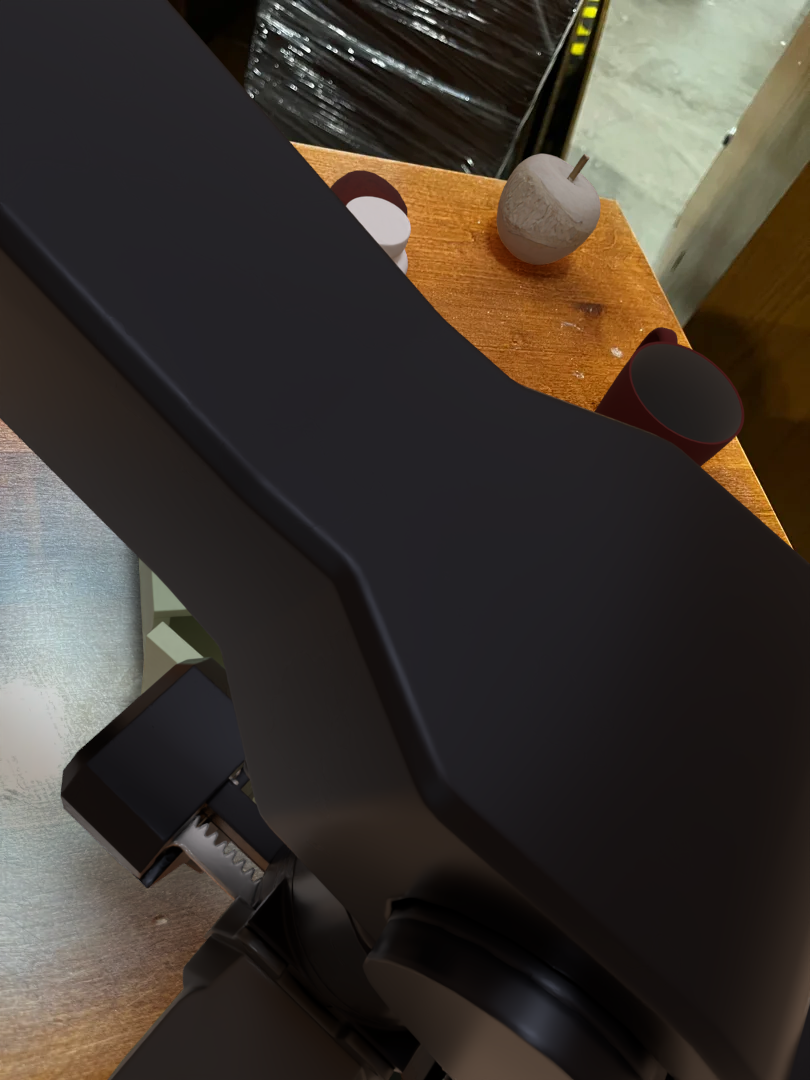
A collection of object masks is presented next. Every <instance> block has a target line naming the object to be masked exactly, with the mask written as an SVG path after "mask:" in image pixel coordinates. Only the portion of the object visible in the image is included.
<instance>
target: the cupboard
mask: <svg viewBox="0 0 810 1080" xmlns="http://www.w3.org/2000/svg"><path fill="white" fill-rule="evenodd" d="M138 572H139V573H138V575H139V591H140V592H139V593H140V594H139V595H140V611H141V612H140V614H141V631H142V652H143V657H144V656H145V645H146V636H147V634H149V633H150V632H151V631H152V630H153V629H154V628H155V627H156V626H158V625H159V624H160V623H161V622H164V623H165V624H166V625H167V626H169V627H170V628H171V629H172V630H173V631H174V632H175V633H176V634H178V635H179V636H180V637H181V638H182V639H183V640H184V641H185V642H187V643H188V644H189V645H190V646H191V647H192V648H193V649H194V650H196V651H197V652H198V653H199V654H200V655H201V656H202V657H203V658H206V657H212V658H213V659H214V660H216V661H217V662H218V663H219V664H220V665H221V666H222V667H223V668H224V669H225V667H224V662H223V658H222V653H221V651H220V649H219V646H218V645H217V643H216V642H215V641H214V640H213V639H212V638H211V637H210V635H209V634H208V633H207V632H206V631H205V630H204V629H203V627H202V626H201V625H200V624H199V623H198V622H197V621H196V619H195V618H194V617H193V616H192V615H191V614H190V613H189V611H188V610H187V609H186V608H185V607H184V606H183V605H182V603H181V602H180V601H179V600H178V599H177V598H176V597H175V595H174V594H173V593H172V592H171V591H170V590H169V589H168V587H167V586H166V585H165V584H164V583H163V582H162V581H161V580H160V579H159V578H158V577H157V576H156V575H155V574H154V573H153V572H152V571H151V570H150V569H149V568H148V567H147V566H146V565H145V564H144V563H143V562H142V561H141V560H140V559H139V558H138Z"/></svg>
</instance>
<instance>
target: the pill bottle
mask: <svg viewBox="0 0 810 1080" xmlns="http://www.w3.org/2000/svg"><path fill="white" fill-rule="evenodd" d="M346 207H347V208H348V209H349V210H350V211H351V213H352V214H353V215H354V216H355V217H356V218H357V220H358V221H359V222H360V223H361V224H362V225H363V226H364V228H365V229H366V230H367V231H368V232H369V233H370V235H371V236H372V237H373V238H374V239H375V240H376V241H377V243H378V244H379V245H380V246H381V247H382V248H383V250H384V251H385V252H386V253H387V254H388V255H389V256H390V258H391V259H392V260H393V261H394V262H395V263H396V265H397V266H398V267H399V268H400V269H401V270H402V271H403V273H404V274H405V275H406V276H407V272H408V268H409V258H408V255H407V252H406V247H407V245H408V242H409V239H410V236H411V231H412V225H411V221H410V220H409V217H408V215H407V216H406V215H405V214H404V212H403V211H402V210H401V209H399V208H398V207H397V206H396V205H394V204H392V203H390V202H388V201H386V200H383V199H380V198H376V197H359V198H355V199H353V200H352V201H350V202H349V203H348V204H347V205H346Z"/></svg>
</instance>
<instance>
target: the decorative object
mask: <svg viewBox="0 0 810 1080" xmlns="http://www.w3.org/2000/svg"><path fill="white" fill-rule="evenodd" d="M589 160H590V156H589V155H588V154H586V153H583V154H582V156H581V157H580V158H579V160H578V161H577V163H576V164H575V166H573V165H572V164H570V163H568V162H567V161H565V160H564V159H562V158H560V157H558V156H555V155H552V154H548V153H537V154H534V155H531V156H529V157H527V158H526V159H524V160H523V161H521V162H520V163H519V164H517V166H516V167H515V168H514V170H513V171H512V172H511V174H510V175H509V177H508V178H507V180H506V182H505V185H504V186H503V189H502V190H501V193H500V196H499V200H498V204H497V210H496V229H497V234H498V237H499V239H500V241H501V243H502V244H503V246H504V247H505V248H506V249H507V251H508V252H509V253H510V254H511V255H512V256H513V257H515V258H516V259H518V260H520V261H521V262H523V263H527V264H530V265H535V266H542V265H547V264H553V263H555V262H557V261H560V260H561V259H564V258H566V257H568V256H569V255H571V254H572V253H573V252H575V251H576V250H577V249H578V248H580V247H581V246H582V244H584V243H585V242H586V241H587V239H588V238H589V237H590V236H591V235H592V234H593V233H594V231H595V229H596V228H597V225H598V223H599V220H600V218H601V207H602V206H601V205H602V204H601V199H600V195H599V194H598V191H597V190H596V188H595V186H594V185H593V184H592V183H591V182H590V180H589V179H588V178H587V177H586V176H585V175H584V174H582V170H583V169H584V167H585V166H586V164H587V163H588V162H589Z"/></svg>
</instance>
